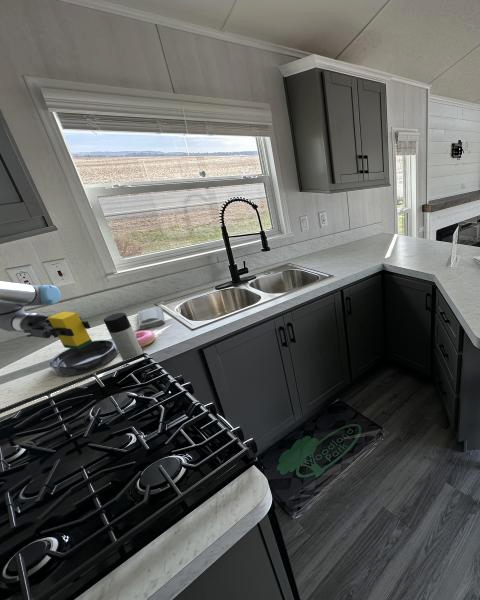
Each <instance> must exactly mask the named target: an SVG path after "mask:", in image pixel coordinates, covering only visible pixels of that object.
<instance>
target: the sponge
mask: <svg viewBox="0 0 480 600" xmlns="http://www.w3.org/2000/svg"><path fill="white" fill-rule="evenodd" d="M79 316H80V315H79V314H78V312H72V311H61V312H57V313H56V314H53V315H51V316H49V317H48V319H49V321H50V323H51V325H52V326H53V328H54V329H55V328H57V327H58V328H67V329H71V330H72V332H73V334H74V336H65V335H58V337H57V338H58V339H59V340H60V342H61V344H62V346H63V347H64V348H65V349H70V348H72V349H80V348H82V347H84V346H86V345H88V344H90V343H92V341H93V340H92V339H91V337H90V335H89V333H88V331H87V328H85V327H84V325H83V323H82V321H81V319H80V318H79ZM55 330H56V329H55Z"/></svg>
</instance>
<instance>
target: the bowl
mask: <svg viewBox="0 0 480 600" xmlns="http://www.w3.org/2000/svg"><path fill="white" fill-rule="evenodd" d="M91 341H92V343H90V344H88V345H86V346H84V347H82V348H80V349H72V348H66V350H64V351H61V352H60V353H58V354H57V355H55V356H54V357H53V358H52V359H51V360H50V361H49V366H50V368H51V370H52V371H53V373H54V374H55V375H56V376H60V377H68V376H69V377H70V376H76V375H80V374H84V373H87V372H91V371H93V370H96V369H98V368H100V367H102V366H104V365H106V364H107V363H109V362H110V361H112V360H113V359H115V358H116V356H117V355H118V354H119V351H118V349H117V347H116V345H115V343H114V341H113V340H111V339H98V340H91ZM90 370H91V371H90Z"/></svg>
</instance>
